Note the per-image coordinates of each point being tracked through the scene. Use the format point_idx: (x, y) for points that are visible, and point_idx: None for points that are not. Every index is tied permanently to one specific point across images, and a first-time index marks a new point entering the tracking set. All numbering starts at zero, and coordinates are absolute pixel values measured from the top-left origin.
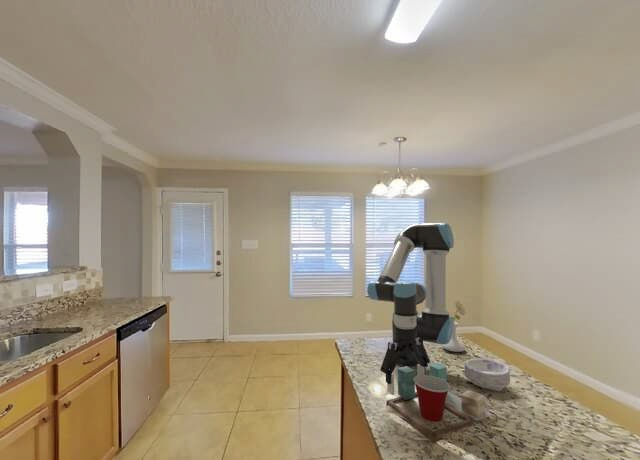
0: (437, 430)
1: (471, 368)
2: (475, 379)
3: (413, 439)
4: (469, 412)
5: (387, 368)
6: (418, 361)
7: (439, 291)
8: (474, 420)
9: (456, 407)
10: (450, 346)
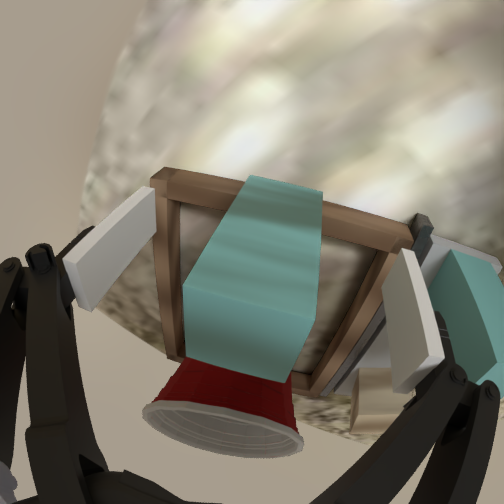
0: None
1: None
2: None
3: (143, 310)
4: (355, 384)
5: (21, 327)
6: (422, 398)
7: None
8: (329, 391)
9: (370, 355)
10: None
